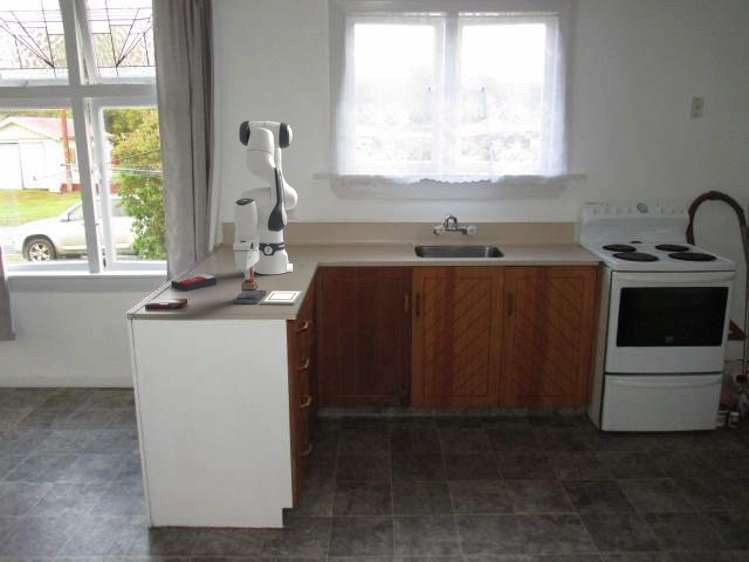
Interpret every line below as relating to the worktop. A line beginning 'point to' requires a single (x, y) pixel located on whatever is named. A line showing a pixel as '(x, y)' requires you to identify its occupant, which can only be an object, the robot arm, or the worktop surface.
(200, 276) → the calculator
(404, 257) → the worktop surface
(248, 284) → the stamp
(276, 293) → the board
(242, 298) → the ink pad
